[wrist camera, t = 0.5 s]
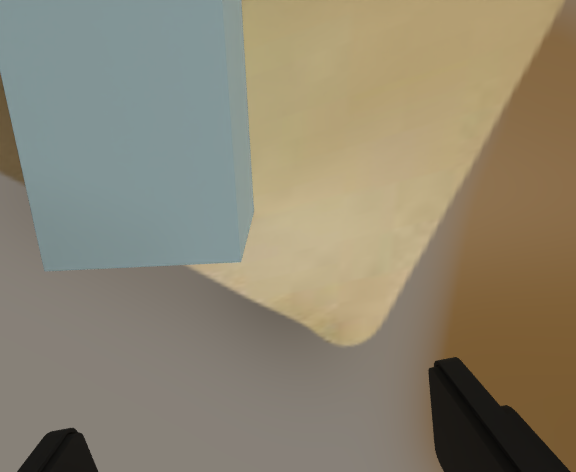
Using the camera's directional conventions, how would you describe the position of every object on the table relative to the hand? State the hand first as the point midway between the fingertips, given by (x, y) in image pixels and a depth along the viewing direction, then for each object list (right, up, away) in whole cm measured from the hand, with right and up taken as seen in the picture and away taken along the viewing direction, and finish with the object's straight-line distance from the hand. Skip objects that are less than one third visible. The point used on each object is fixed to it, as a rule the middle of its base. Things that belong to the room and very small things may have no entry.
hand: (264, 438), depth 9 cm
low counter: (-10, +19, +26) cm, 34 cm away
